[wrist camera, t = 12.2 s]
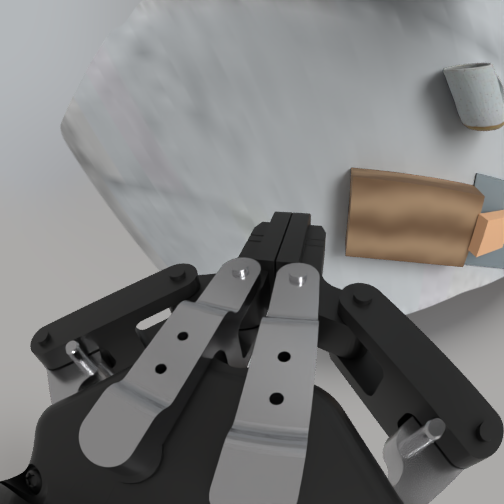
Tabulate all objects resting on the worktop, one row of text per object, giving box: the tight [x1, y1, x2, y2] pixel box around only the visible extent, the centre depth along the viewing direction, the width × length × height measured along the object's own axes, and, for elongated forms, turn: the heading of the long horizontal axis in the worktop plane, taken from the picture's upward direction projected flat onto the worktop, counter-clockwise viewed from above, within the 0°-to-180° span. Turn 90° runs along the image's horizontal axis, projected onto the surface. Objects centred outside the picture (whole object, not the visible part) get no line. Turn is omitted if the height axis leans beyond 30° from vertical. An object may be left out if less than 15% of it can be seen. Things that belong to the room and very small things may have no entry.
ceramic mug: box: [443, 63, 504, 131], centre depth 19 cm, size 11×8×8 cm
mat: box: [464, 173, 504, 268], centre depth 30 cm, size 16×14×1 cm
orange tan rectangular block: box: [468, 210, 504, 257], centre depth 28 cm, size 6×9×2 cm, turn 95°
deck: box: [346, 168, 485, 267], centre depth 34 cm, size 12×20×4 cm, turn 95°
